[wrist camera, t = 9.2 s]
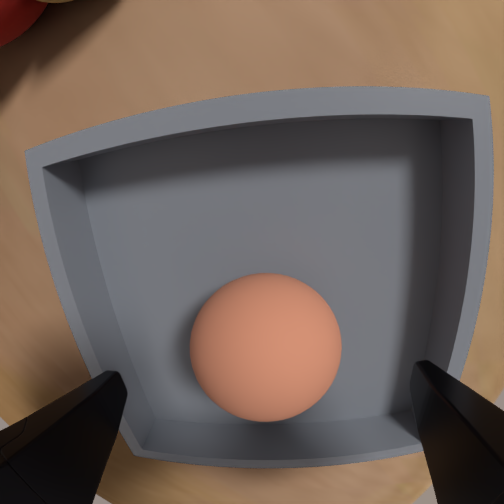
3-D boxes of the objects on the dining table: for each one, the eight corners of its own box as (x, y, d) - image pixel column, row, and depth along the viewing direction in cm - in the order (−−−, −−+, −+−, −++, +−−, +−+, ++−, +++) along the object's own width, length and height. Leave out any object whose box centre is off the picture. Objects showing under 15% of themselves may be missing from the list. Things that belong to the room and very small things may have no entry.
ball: (331, 355, 13) (346, 446, 9) (218, 361, 14) (192, 448, 9) (331, 246, 12) (357, 317, 7) (197, 256, 12) (149, 327, 8)
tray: (418, 409, 15) (432, 448, 12) (150, 418, 17) (134, 455, 14) (448, 101, 10) (489, 95, 7) (70, 144, 12) (24, 150, 9)
